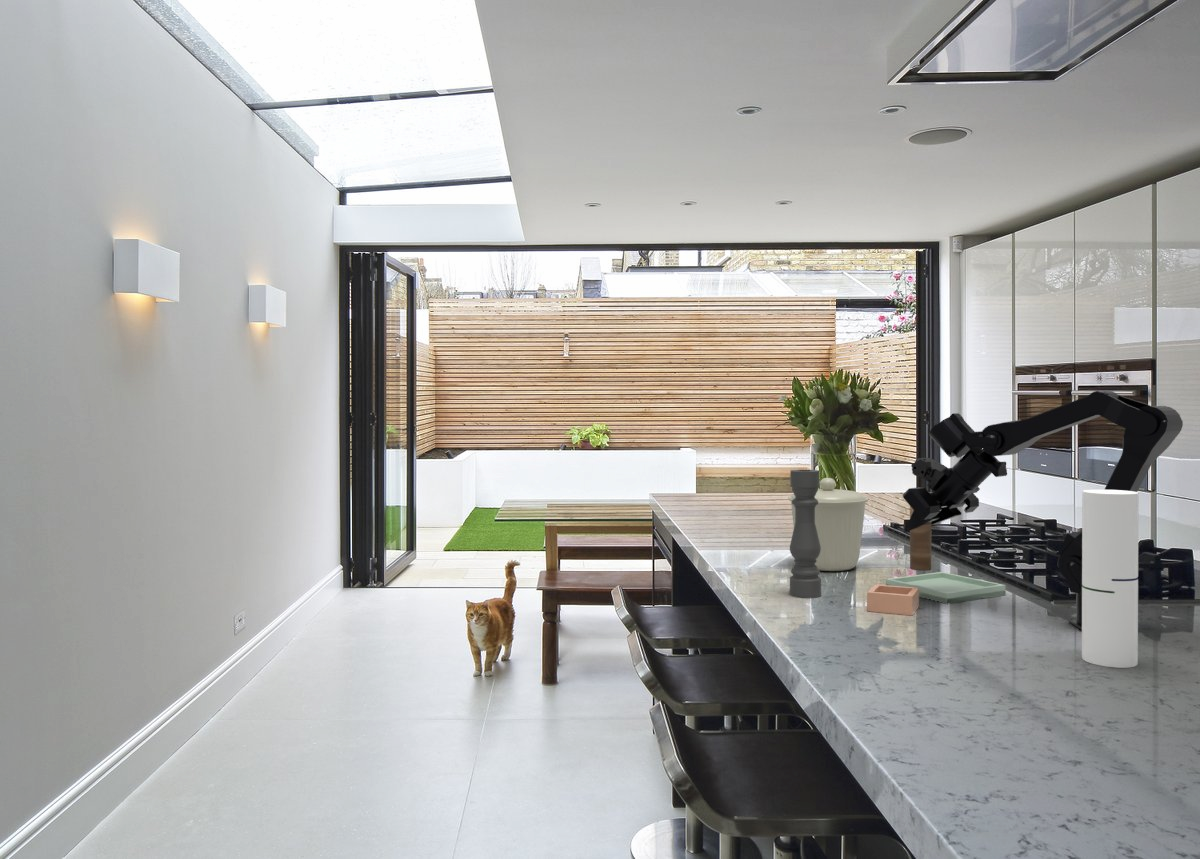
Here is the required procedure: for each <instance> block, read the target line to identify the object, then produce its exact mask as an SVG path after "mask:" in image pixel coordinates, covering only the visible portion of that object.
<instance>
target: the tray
mask: <svg viewBox="0 0 1200 859" xmlns="http://www.w3.org/2000/svg"><path fill="white" fill-rule="evenodd" d="M885 585H890V586H902V587H914V588H919V598H921V599H922V598H923V599H925V598H926V599H925V600H929V599H931V600H930V601H933V600H935V601H934V602H937V601H939V602H938V603H941V602H943V603H942V604H945V603H947V604H946V605H948V603H950V604H956V603H955V602H957V603H961V601H964V602H969V601H968V600H970V601H975V600H974V599H977V600H982V599H981V598H983V599H988V598H994V597H995V598H996V597H1001V596H1006V592H1007V591H1006V586H1007V585H1006V584H1003V583H997V582H992V581H987V580H982V579H978V578H972V577H969V576H964V575H959V574H953V573H948V572H944V571H939V572H930V573H922V574H916V575H915V574H914V575H908V576H907V575H906V576H900V577H892V578H886V579H885Z"/></svg>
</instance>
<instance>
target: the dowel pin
mask: <svg viewBox="0 0 1200 859" xmlns="http://www.w3.org/2000/svg"><path fill="white" fill-rule="evenodd" d="M913 511H914V510H913V509H912V507H911V506H910V505H909V518H910V517H911V515H912V513H913ZM909 569H911V570H914V571H924V572H927V571H932V525H931V522H930V523H927V524H925V525H923V526H920V527H918V528H915V529H913V530H909Z"/></svg>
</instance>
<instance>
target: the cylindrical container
mask: <svg viewBox="0 0 1200 859" xmlns="http://www.w3.org/2000/svg"><path fill="white" fill-rule="evenodd" d="M1081 493H1082V511H1081V512H1082V516H1081V517H1082V518H1081V519H1082V521H1081V524H1082V525H1081V526H1082V527H1081V529H1082V530H1081V531H1082V585H1083V586H1082V630H1081V659H1082V660H1083V661H1085V662H1087V663H1090V664H1092V665H1096V666H1101V667H1108V668H1119V669H1124V668H1126V669H1127V668H1133V667H1134V668H1135V667H1137V666H1138V664H1139V662H1138V661H1139V658H1138V657H1139V656H1138V653H1139V652H1138V651H1139V648H1138V647H1139V643H1138V642H1139V635H1138V634H1139V578H1138V577H1139V501H1140V500H1139V492H1138V491H1137V492H1134V491H1124V490H1104V489H1084V490H1082V492H1081Z"/></svg>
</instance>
